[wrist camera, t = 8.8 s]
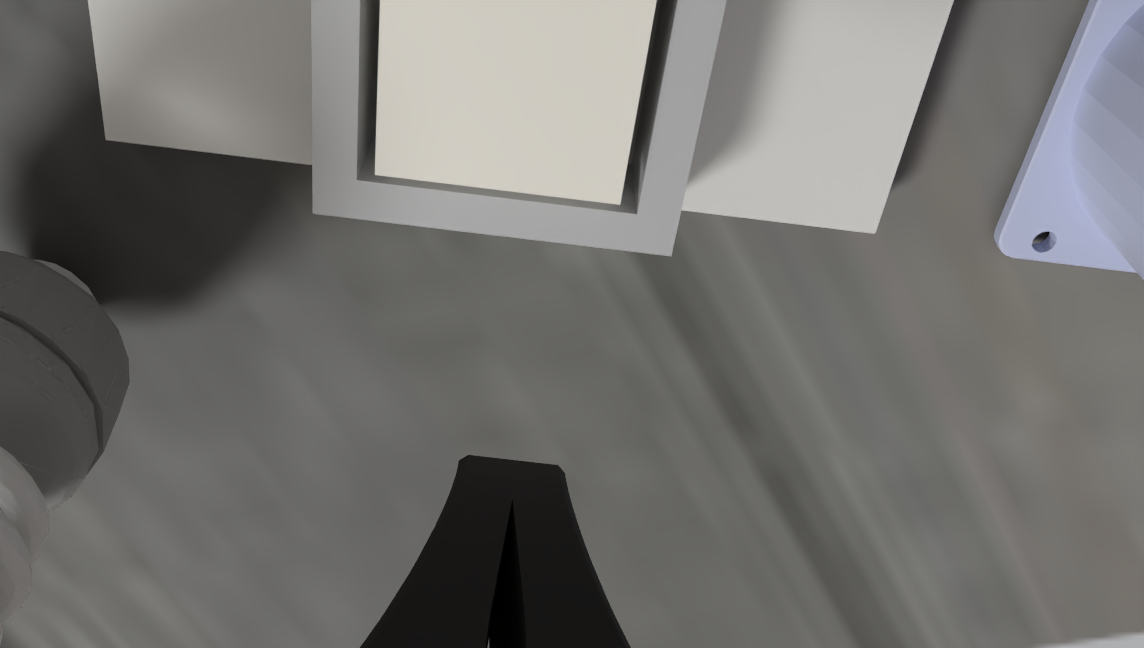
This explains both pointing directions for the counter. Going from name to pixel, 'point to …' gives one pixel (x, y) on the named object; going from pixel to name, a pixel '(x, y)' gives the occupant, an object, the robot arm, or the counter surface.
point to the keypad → (639, 224)
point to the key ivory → (511, 93)
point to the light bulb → (49, 405)
